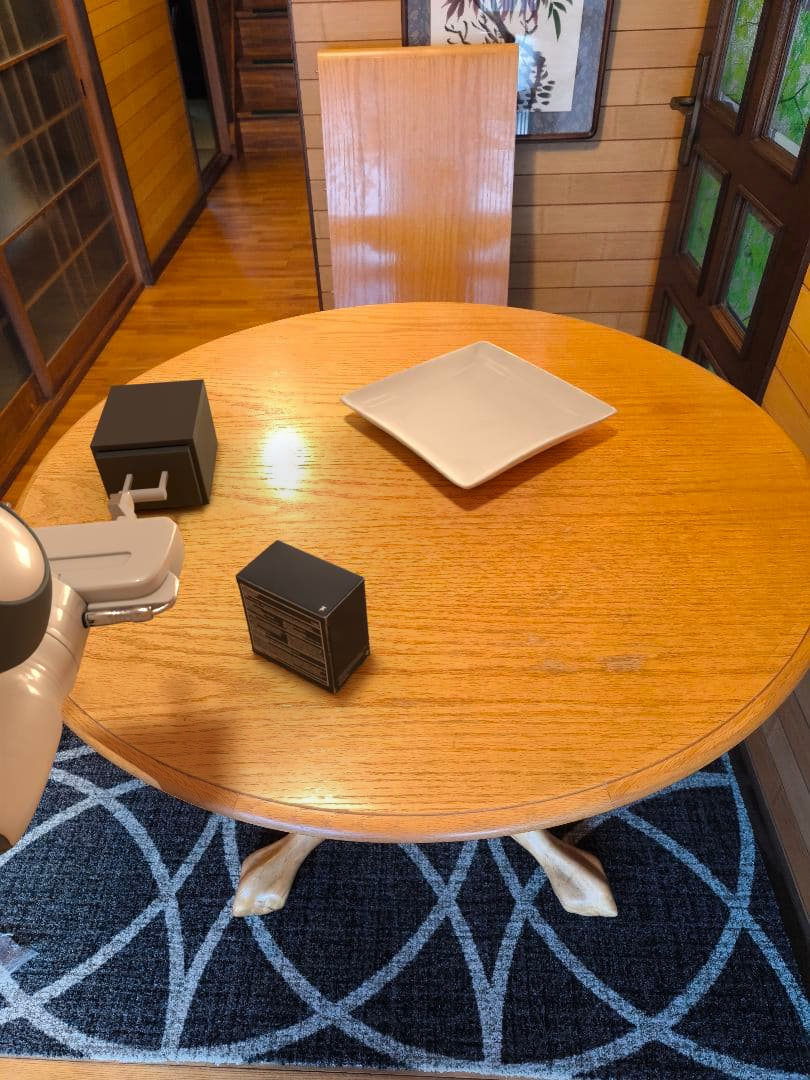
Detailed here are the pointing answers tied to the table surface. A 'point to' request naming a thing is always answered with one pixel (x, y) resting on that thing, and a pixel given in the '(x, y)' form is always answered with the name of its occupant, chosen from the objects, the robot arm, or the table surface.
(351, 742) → the table surface
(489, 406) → the square plate
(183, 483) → the drawer
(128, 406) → the cabinet
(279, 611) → the small box
